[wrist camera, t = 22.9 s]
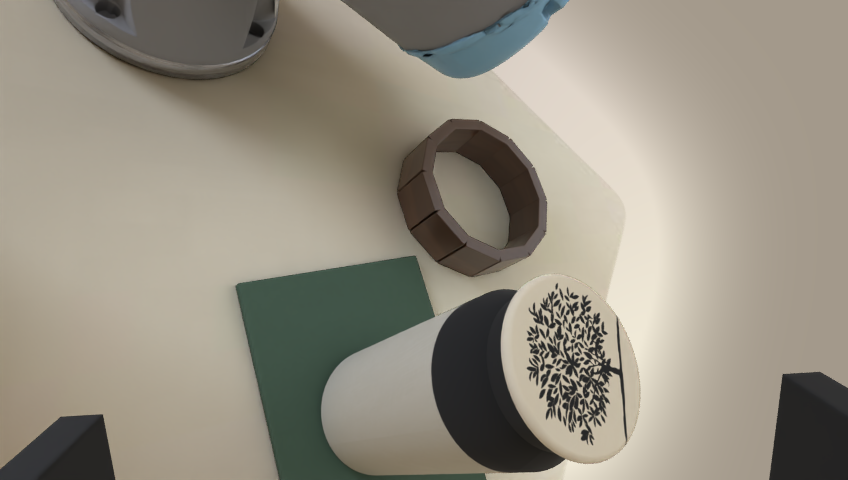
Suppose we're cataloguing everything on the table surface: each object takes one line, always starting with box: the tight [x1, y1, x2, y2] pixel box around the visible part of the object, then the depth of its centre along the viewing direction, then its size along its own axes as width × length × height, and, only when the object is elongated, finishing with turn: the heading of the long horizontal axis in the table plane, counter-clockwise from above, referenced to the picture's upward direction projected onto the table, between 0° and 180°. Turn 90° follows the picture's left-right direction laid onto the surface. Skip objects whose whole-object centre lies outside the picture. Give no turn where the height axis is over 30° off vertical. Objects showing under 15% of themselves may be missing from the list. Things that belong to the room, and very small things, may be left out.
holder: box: [398, 119, 547, 277], centre depth 45 cm, size 13×13×4 cm
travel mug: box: [321, 274, 640, 475], centre depth 28 cm, size 8×8×18 cm
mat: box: [236, 256, 486, 480], centre depth 35 cm, size 20×14×1 cm
